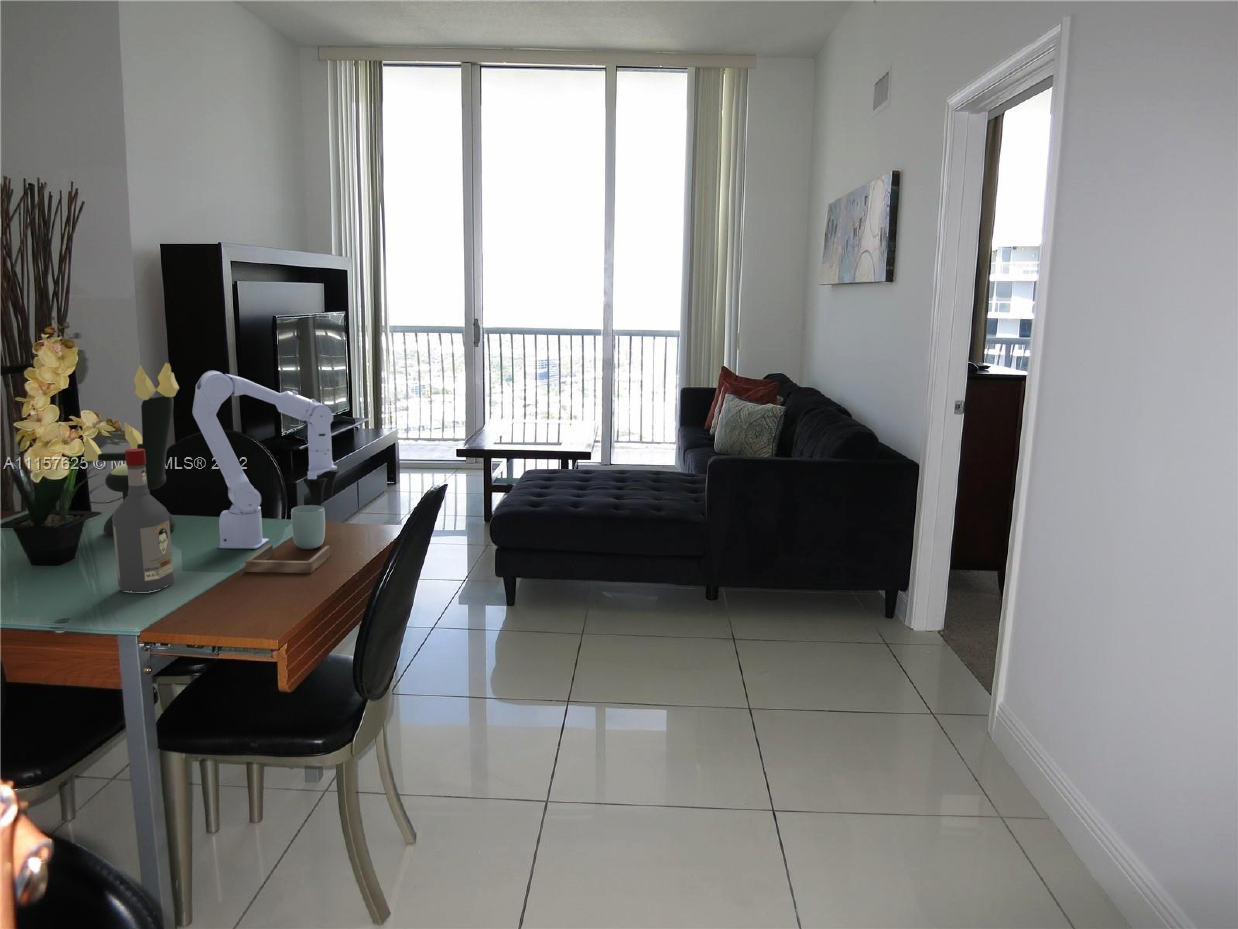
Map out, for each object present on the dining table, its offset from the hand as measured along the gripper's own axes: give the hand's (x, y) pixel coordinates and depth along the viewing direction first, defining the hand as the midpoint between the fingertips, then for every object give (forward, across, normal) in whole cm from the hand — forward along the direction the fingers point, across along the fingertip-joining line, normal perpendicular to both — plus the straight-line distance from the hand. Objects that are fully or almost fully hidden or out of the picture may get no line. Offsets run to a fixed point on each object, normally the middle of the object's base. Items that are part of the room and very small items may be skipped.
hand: (322, 500), depth 228 cm
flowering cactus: (+10, 0, +46) cm, 47 cm away
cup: (+10, -11, 0) cm, 15 cm away
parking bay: (+9, -24, 0) cm, 26 cm away
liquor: (+10, -43, +24) cm, 50 cm away
